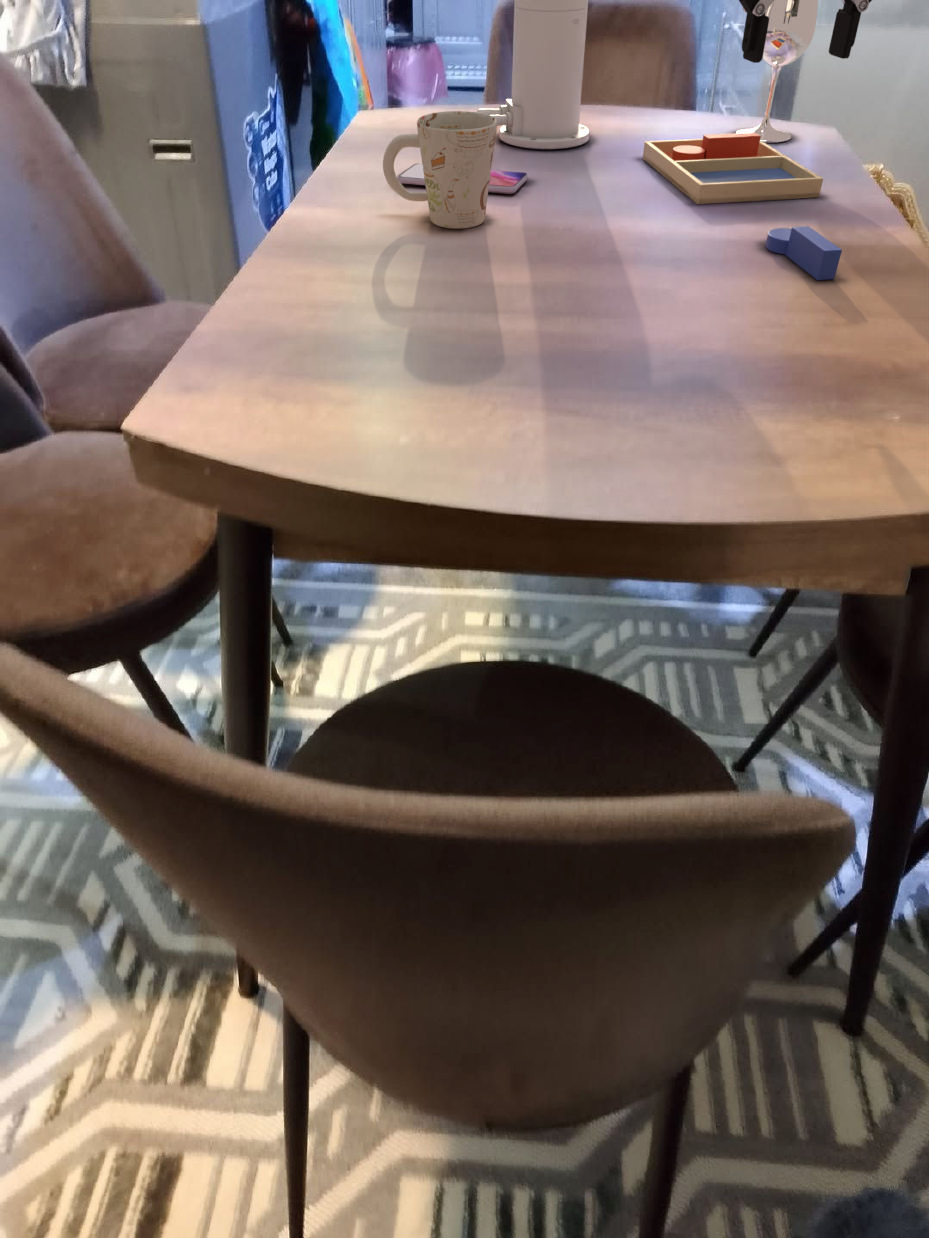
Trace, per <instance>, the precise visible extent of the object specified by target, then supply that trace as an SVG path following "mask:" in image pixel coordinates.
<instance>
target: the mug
mask: <svg viewBox="0 0 929 1238" xmlns="http://www.w3.org/2000/svg"><path fill="white" fill-rule="evenodd" d="M416 128H417V133H404V134H399V135H397V136H395V137H393V138H392V140H391V141H390V142H389V143H388V144H387V147H386V149H385V151H384V154H383V160H382V172H383V175H384V178H385V180H386V182H387V185H388V186H390V188H391V190H392V191H394V192H395V193H396V194H397V195H399V196H400V197H401V198H403V199H404V200H407V201H411V202H427V205H428V212H429V219H430V222H431V223H432V224H433V225H435V226H437V227H441V228H445V229H453V230H454V229H457V230H459V229H469V228H474V227H477V226H480V225H482V224H483V223H484V221H485V219H486V211H487V205H488V198H489V192H488V190H489V182H490V175H491V170H492V167H493V159H494V152H495V144H496V137H497V128H498V126H497V121H496V119H495V118H494V117H492V116H490V115H487V114H483V113H478V112H477V111H467V110H450V111H449V110H448V111H446V110H445V111H438V112H432V113H427V114H424V115H422V116H420V117H418V118H417V120H416ZM404 148H419V151H420V157H421V164H422V165H423V172H424V179H425V185H424V186H425V192H414V191H413V192H412V191H409V190H408V189H406V188H405V187H404V185H402V183H400V182H399V180H398V179H397V177H398V176H397V175H396V172H395V160H396V157H397V156H398V154H399V153H400V152H401V151H402V150H403V149H404Z"/></svg>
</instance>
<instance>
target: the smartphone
mask: <svg viewBox="0 0 929 1238" xmlns="http://www.w3.org/2000/svg"><path fill="white" fill-rule="evenodd" d="M396 177H397V179H398V180H399V182H400V183H401V184H406V185H416V186H425V179H424V172H423V165H422V163H413V164H412V165H410V167H408V168H406V169H405V170H404V171H402V172H401V173H400V174H398V175H397V176H396ZM528 178H529V176H528V173H527V172H521V171H512V170H511V171H510V170H499V169H498V170H497V169H491V175H490V182H489V190H488V193H495V194H505V195H512V194H514V193H516V192H517V191H518V190H519V189H520V187H521V186H523V185H524V183H526V182H527V180H528Z"/></svg>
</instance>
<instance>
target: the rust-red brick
mask: <svg viewBox="0 0 929 1238" xmlns="http://www.w3.org/2000/svg"><path fill="white" fill-rule="evenodd" d="M760 137H761V136H760V135H758V134H757V133H736V132H735V133H714V134H703V136H702V139H703V141H702V148H701V147H697V146H690V145H683V146H677V147H674V148H673V153H672V160H674V161H682V160H702V159H722V158H742V157H757V153H758V148H759V143H760Z"/></svg>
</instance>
